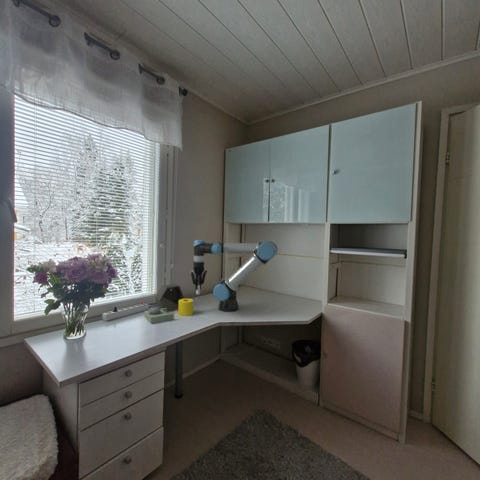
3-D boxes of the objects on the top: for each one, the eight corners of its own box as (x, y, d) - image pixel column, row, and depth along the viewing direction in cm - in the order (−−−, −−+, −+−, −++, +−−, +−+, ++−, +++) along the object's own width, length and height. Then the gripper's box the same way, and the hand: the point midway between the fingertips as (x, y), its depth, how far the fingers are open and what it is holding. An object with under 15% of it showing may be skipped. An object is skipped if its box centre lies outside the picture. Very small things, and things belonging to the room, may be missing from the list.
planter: (155, 307, 176) (170, 280, 183) (150, 304, 181) (165, 279, 188) (173, 316, 186) (187, 290, 193) (168, 313, 191) (182, 288, 198)
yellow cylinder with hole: (195, 312, 182) (195, 299, 182) (189, 316, 172) (189, 303, 172) (182, 310, 184) (182, 298, 184) (175, 315, 175) (175, 301, 174)
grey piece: (166, 313, 178) (166, 303, 178) (173, 319, 166) (173, 309, 165) (144, 317, 170) (144, 306, 169) (151, 324, 157) (151, 312, 157)
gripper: (204, 260, 189) (203, 291, 190) (188, 261, 182) (187, 293, 183) (209, 261, 183) (208, 294, 184) (192, 262, 176) (191, 296, 177)
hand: (198, 293), depth 183 cm, fingers closed
